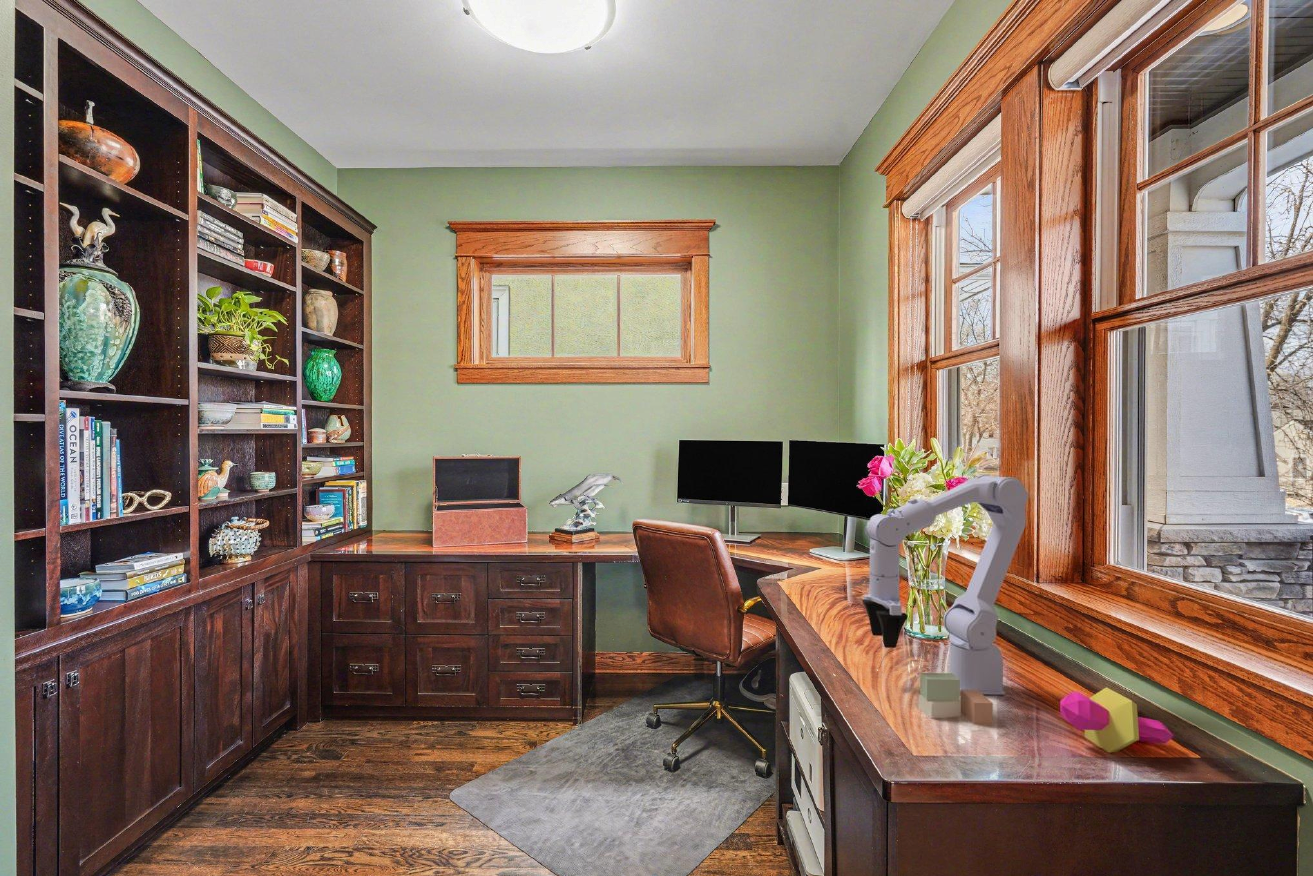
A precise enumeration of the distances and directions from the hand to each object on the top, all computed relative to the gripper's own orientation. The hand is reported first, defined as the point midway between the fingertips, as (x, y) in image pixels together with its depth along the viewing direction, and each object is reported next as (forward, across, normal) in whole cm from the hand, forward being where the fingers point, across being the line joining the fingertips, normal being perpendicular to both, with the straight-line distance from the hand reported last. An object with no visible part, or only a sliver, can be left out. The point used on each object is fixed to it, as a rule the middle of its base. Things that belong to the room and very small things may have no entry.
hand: (883, 641), depth 130 cm
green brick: (+7, +10, +7) cm, 14 cm away
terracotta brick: (+10, +12, +13) cm, 20 cm away
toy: (+10, +22, +31) cm, 39 cm away
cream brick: (+10, +10, +7) cm, 16 cm away
